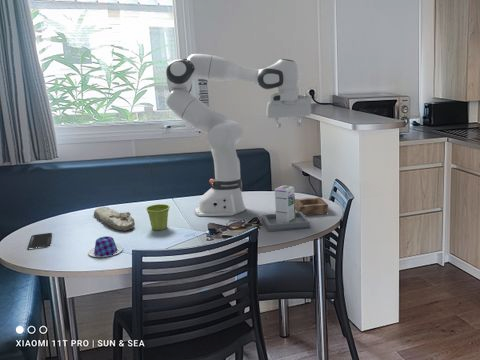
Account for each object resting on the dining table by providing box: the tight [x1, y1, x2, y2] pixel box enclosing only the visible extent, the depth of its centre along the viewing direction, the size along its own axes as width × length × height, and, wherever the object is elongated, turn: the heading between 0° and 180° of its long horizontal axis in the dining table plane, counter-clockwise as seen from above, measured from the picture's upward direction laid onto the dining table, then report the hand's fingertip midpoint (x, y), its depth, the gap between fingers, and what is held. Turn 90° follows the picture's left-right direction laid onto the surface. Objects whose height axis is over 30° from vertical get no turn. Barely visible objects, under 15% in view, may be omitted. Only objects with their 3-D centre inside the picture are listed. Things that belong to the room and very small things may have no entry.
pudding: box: [88, 235, 124, 258], centre depth 173 cm, size 12×12×5 cm
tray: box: [262, 211, 311, 232], centre depth 193 cm, size 16×14×2 cm
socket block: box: [295, 196, 329, 216], centre depth 209 cm, size 12×12×4 cm
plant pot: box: [145, 203, 171, 231], centre depth 195 cm, size 9×9×9 cm
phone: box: [27, 232, 53, 249], centre depth 187 cm, size 8×1×15 cm
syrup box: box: [274, 185, 296, 224], centre depth 192 cm, size 6×6×14 cm
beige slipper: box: [93, 206, 136, 231], centre depth 208 cm, size 35×5×10 cm
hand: (289, 126), depth 222 cm, fingers open, 8 cm apart
